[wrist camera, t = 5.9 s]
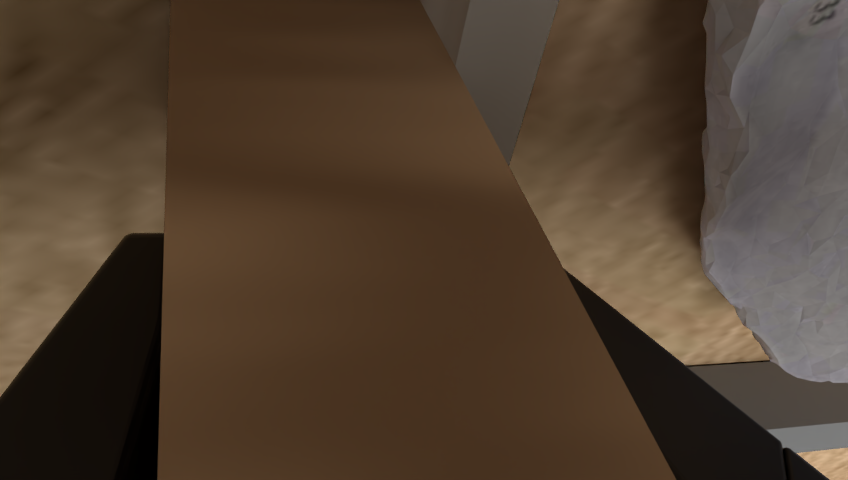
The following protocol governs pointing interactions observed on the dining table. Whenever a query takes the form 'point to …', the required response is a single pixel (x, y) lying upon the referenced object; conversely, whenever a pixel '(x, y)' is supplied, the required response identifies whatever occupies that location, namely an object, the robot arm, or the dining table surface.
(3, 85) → the dining table surface
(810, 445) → the frame
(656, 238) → the dining table surface
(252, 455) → the block
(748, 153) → the stone block
